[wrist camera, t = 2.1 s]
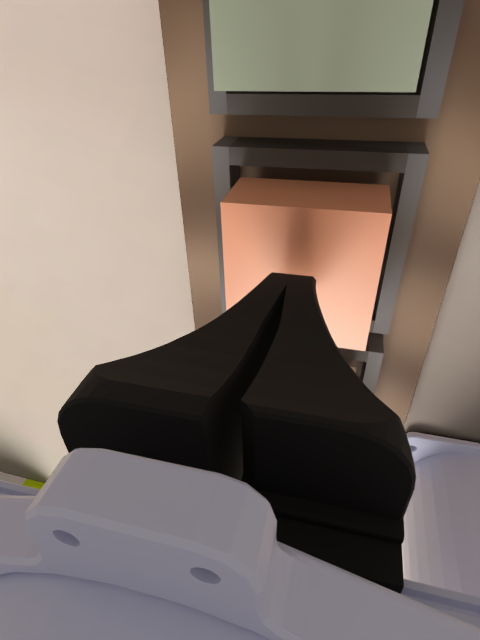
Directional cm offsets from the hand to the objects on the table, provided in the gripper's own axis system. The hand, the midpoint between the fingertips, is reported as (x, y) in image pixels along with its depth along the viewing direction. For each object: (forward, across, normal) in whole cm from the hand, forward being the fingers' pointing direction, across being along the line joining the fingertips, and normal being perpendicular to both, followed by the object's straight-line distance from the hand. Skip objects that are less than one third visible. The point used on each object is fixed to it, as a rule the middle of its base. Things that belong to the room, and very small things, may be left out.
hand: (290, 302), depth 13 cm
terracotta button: (+4, 0, 0) cm, 4 cm away
